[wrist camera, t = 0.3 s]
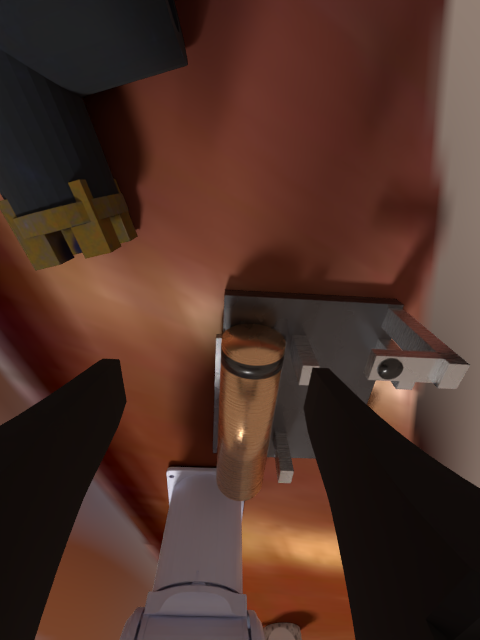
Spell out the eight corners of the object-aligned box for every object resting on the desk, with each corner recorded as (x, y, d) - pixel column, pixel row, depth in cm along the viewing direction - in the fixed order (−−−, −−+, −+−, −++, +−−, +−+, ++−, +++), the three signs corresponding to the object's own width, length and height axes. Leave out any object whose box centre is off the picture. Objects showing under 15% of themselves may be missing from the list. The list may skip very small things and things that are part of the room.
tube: (261, 456, 26) (264, 502, 22) (217, 454, 26) (213, 500, 22) (281, 325, 19) (290, 360, 16) (223, 322, 19) (218, 356, 16)
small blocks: (351, 446, 26) (367, 485, 22) (273, 444, 25) (278, 482, 22) (392, 339, 20) (420, 370, 17) (292, 335, 20) (302, 365, 17)
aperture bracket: (395, 327, 20) (456, 388, 14) (333, 324, 19) (371, 385, 14) (402, 308, 19) (469, 365, 13) (338, 305, 19) (380, 360, 13)
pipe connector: (220, 228, 12) (-74, 298, 14) (225, 213, 17) (5, 267, 19) (109, -218, 7) (-339, -34, 9) (159, -64, 12) (-137, 39, 13)
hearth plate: (342, 449, 27) (347, 464, 26) (213, 445, 27) (212, 460, 25) (396, 298, 20) (407, 308, 18) (218, 289, 19) (217, 297, 18)
